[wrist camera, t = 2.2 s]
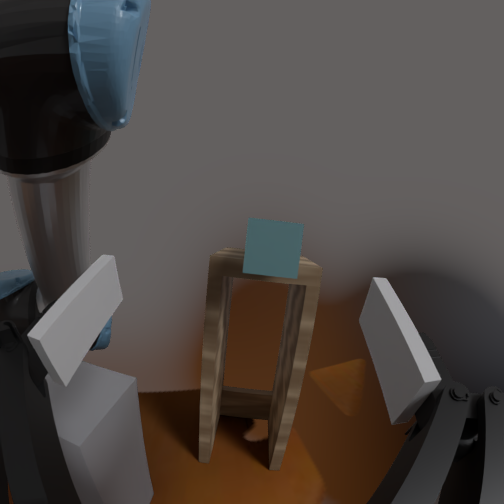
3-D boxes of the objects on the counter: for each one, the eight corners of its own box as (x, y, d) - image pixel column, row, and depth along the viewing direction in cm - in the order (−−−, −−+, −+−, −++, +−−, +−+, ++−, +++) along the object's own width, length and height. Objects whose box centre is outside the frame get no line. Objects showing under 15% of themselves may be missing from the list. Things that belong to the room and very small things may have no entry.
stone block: (131, 548, 13) (79, 446, 11) (63, 518, 13) (-4, 396, 12) (153, 493, 23) (136, 377, 22) (94, 471, 24) (62, 353, 22)
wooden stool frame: (279, 470, 31) (322, 268, 29) (198, 461, 32) (210, 255, 29) (275, 415, 46) (302, 255, 44) (213, 409, 47) (227, 247, 44)
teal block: (297, 278, 20) (303, 224, 20) (242, 272, 20) (248, 217, 20) (277, 253, 44) (280, 227, 44) (252, 250, 44) (255, 224, 44)
